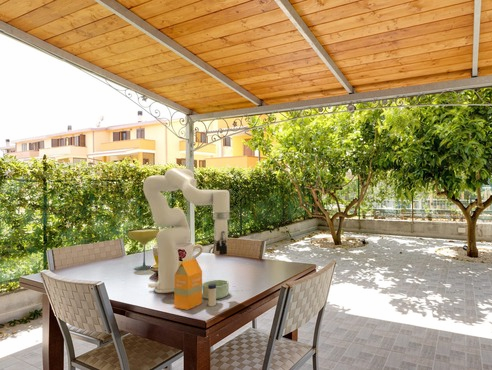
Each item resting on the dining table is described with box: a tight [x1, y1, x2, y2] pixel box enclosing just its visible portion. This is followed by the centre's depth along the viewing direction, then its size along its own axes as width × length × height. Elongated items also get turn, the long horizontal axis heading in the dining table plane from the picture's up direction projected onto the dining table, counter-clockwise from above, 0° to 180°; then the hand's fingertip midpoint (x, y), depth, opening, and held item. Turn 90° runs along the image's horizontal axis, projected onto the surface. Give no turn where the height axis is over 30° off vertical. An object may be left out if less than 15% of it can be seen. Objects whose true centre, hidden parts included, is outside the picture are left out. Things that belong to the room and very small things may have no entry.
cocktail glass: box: [127, 227, 161, 271], centre depth 208 cm, size 18×18×25 cm
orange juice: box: [173, 258, 203, 311], centre depth 142 cm, size 8×9×20 cm
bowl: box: [202, 279, 230, 300], centre depth 155 cm, size 12×12×6 cm
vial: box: [207, 284, 217, 307], centre depth 143 cm, size 3×3×9 cm
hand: (221, 252), depth 149 cm, fingers open, 9 cm apart
